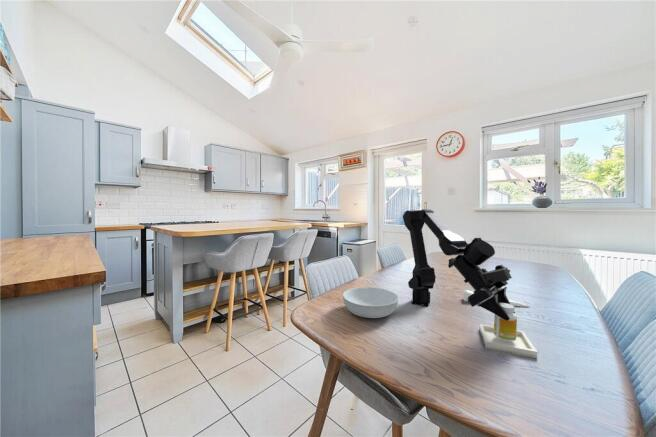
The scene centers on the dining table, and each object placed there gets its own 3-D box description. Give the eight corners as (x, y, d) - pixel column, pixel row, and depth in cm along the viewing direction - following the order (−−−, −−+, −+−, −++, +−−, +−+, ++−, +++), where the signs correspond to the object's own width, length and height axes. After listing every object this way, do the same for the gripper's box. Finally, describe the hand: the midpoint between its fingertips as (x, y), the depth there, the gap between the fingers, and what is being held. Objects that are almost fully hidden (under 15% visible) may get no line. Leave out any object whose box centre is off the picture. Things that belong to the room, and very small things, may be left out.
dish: (485, 348, 70) (485, 342, 70) (479, 329, 80) (479, 324, 80) (537, 358, 65) (537, 351, 65) (523, 337, 75) (523, 331, 75)
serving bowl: (407, 311, 94) (408, 294, 94) (379, 332, 79) (379, 311, 78) (363, 298, 108) (363, 283, 108) (331, 313, 93) (331, 295, 93)
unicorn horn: (534, 311, 94) (534, 299, 94) (464, 303, 103) (464, 291, 103) (529, 306, 98) (530, 295, 98) (462, 299, 107) (463, 288, 107)
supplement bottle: (521, 341, 71) (522, 308, 70) (505, 343, 70) (506, 310, 69) (504, 331, 76) (505, 300, 75) (489, 333, 75) (490, 302, 74)
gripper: (481, 262, 68) (529, 314, 60) (501, 253, 80) (543, 295, 73) (451, 282, 75) (491, 332, 67) (474, 271, 87) (510, 312, 79)
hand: (511, 316), depth 71 cm, fingers closed on supplement bottle, 5 cm apart
